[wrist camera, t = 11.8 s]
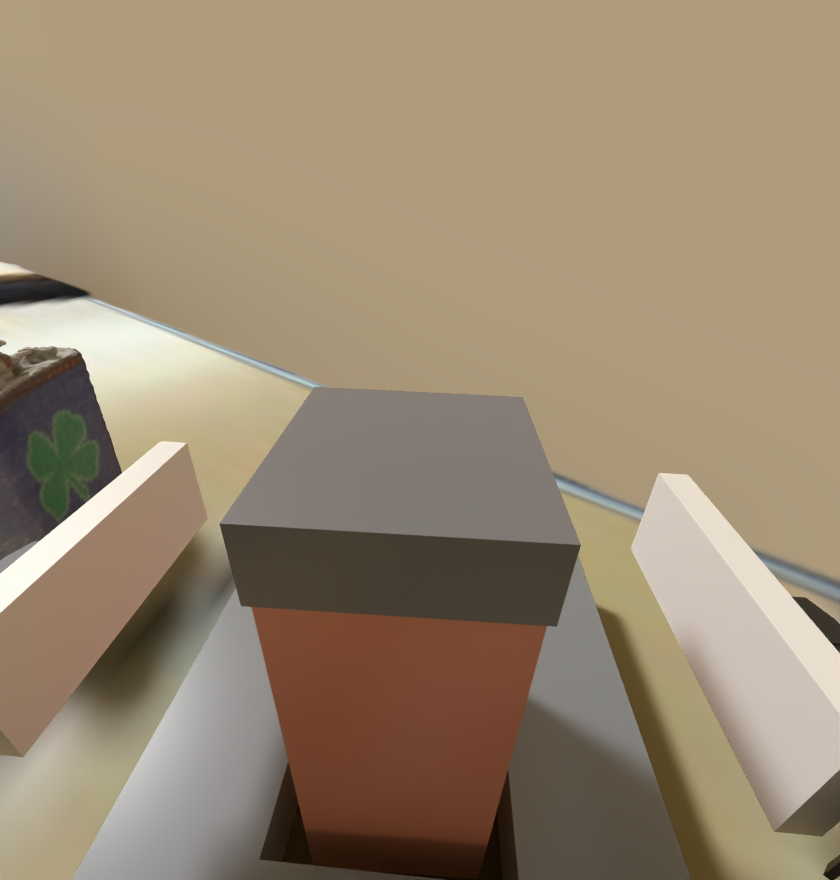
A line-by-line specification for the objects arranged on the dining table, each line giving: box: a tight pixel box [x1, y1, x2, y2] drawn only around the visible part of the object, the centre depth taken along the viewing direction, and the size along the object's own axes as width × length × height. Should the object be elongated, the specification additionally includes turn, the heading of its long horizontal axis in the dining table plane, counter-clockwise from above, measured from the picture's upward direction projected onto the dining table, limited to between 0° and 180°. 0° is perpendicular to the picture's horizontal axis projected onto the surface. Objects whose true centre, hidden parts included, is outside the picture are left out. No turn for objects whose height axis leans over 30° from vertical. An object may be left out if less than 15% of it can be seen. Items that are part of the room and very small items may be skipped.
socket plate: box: [72, 556, 692, 880], centre depth 13 cm, size 14×16×2 cm
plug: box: [220, 387, 581, 879], centre depth 11 cm, size 5×5×12 cm
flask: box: [0, 340, 122, 560], centre depth 20 cm, size 9×3×11 cm, turn 10°
